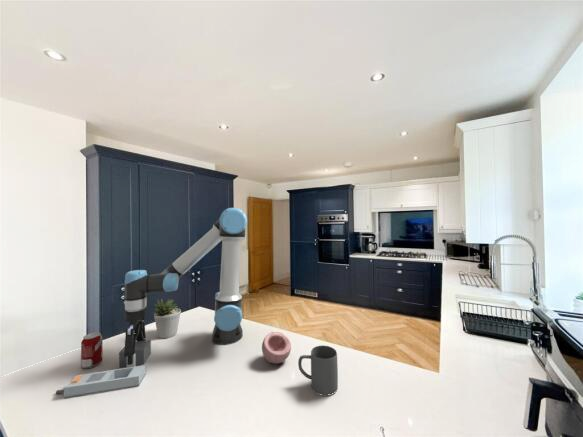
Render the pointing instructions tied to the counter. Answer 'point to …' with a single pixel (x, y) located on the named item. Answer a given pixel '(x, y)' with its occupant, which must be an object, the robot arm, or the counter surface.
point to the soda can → (91, 350)
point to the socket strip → (104, 381)
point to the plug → (137, 354)
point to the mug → (322, 369)
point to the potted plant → (166, 319)
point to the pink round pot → (276, 347)
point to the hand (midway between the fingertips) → (135, 364)
